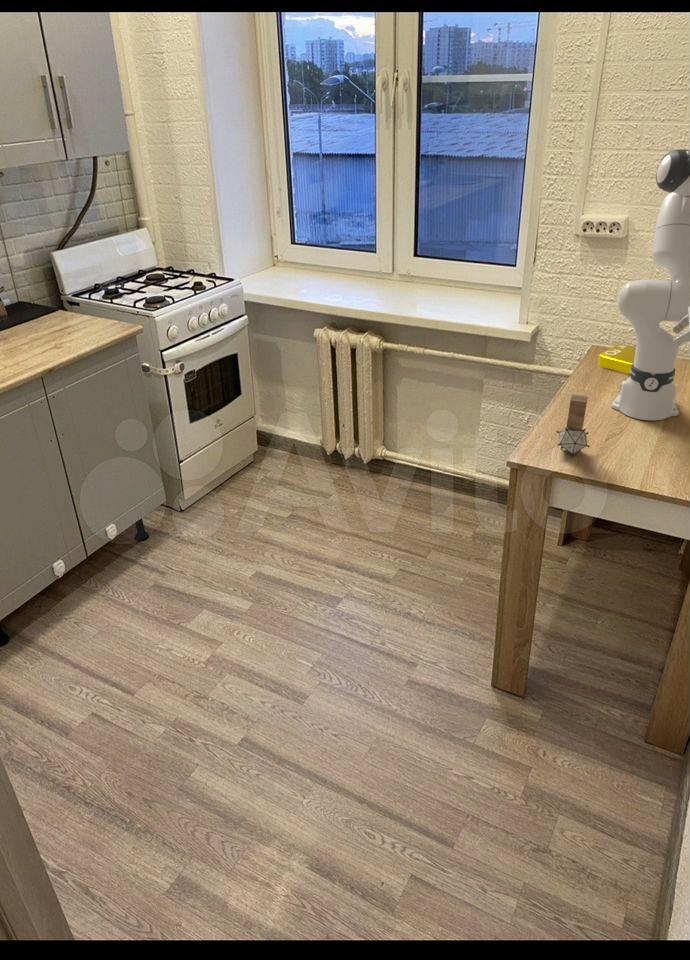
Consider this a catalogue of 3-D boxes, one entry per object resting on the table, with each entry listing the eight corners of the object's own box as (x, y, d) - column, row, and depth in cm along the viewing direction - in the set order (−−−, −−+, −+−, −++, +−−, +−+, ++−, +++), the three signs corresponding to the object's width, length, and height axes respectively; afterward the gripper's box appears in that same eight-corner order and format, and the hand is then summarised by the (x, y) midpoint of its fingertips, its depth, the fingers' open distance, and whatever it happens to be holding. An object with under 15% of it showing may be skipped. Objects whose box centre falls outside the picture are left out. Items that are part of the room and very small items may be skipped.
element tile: (635, 377, 236) (638, 364, 233) (594, 366, 245) (596, 353, 243) (656, 365, 244) (659, 352, 242) (616, 355, 254) (618, 342, 252)
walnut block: (568, 421, 191) (572, 394, 186) (583, 423, 189) (587, 396, 185) (566, 427, 187) (570, 400, 183) (582, 429, 186) (586, 402, 182)
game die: (565, 460, 196) (566, 425, 197) (594, 459, 190) (596, 422, 191) (549, 455, 190) (551, 418, 191) (579, 454, 184) (581, 416, 185)
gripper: (718, 277, 168) (666, 314, 176) (724, 301, 152) (666, 341, 160) (734, 297, 169) (681, 333, 177) (742, 323, 153) (683, 361, 161)
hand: (674, 337), depth 168 cm, fingers open, 8 cm apart
